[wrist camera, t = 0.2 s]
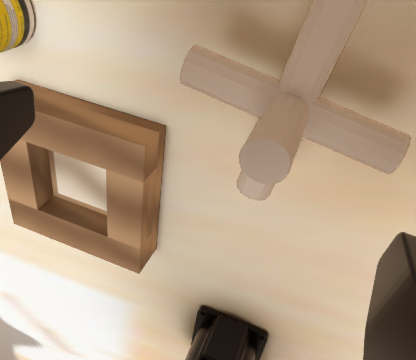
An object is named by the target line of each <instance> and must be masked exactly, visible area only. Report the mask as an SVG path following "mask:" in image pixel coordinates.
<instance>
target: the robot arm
mask: <svg viewBox="0 0 416 360" xmlns="http://www.w3.org/2000/svg"><path fill="white" fill-rule="evenodd" d="M34 121H35V103H34V92H33V90H32V88H31V87H30V86H28V85H25V84H23V83H20V82H18V81H5V82H0V160H1V159H2V158H3V157H4V156H5V155H6V154H7V153H8V152H9V151H10V150H11V148H12V147H13V146H14V145H15V144H16V143H17V142H18V141H19V140H20V139H21V138H22V136H23V135H24V134H25V133H26V132H27V131H28V130H29V129H30V128H31V127H32V125H33V123H34ZM267 339H268V333H267V332H265V331H263V330H261V329H258V328H256V327H253V326H251V325H248V324H246V323H243V322H241V321H239V320H236V319H234V318H231V317H229V316H226V315H224V314H221V313H219V312H216V311H214V310H211V309H209V308H206V307H203V306H201V307H200V308H199V310H198V313H197V318H196V323H195V328H194V333H193V338H192V343H191V348H190V350H189V352H188V354H187V357H186V359H185V360H259V359H260V357H261V354H262V352H263V350H264V347H265V345H266V342H267ZM363 360H416V237H415V236H413V235H410V234H407V233H405V232H401V233H399V234H398V235H397V236H396V237H395V238H394V240H393V241H392V243H391V244H390V245H389V247H388V248H387V249H386V251H385V252H384V254H383V255H382V257H381V258H380V260H379V263H378V266H377V270H376V275H375V280H374V286H373V291H372V296H371V301H370V306H369V311H368V316H367V322H366V328H365V339H364V356H363Z"/></svg>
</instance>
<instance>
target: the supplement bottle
mask: <svg viewBox="0 0 416 360" xmlns="http://www.w3.org/2000/svg"><path fill="white" fill-rule="evenodd" d="M33 30H34V15H33V10H32V7H31V4H30V1H29V0H0V52H3V51H6V50H9V49H12V48H15V47H18V46H20V45H22V44H24V43H26V42H27V41H28V40H29V39H30V37H31V35H32V33H33Z"/></svg>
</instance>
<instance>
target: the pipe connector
mask: <svg viewBox="0 0 416 360" xmlns="http://www.w3.org/2000/svg"><path fill="white" fill-rule="evenodd" d="M367 1H368V0H313V2H312V5H311V7H310V9H309V12H308V14H307V16H306V19H305V21H304V24H303V26H302V28H301V31H300V33H299V35H298V38H297V40H296V43H295V45H294V47H293V50H292V52H291V54H290V57H289V59H288V62H287V64H286V66H285V69H284V71H283V73H282V76H281V78H280V81H279V80H277V79H275V78H272V77H270V76H268V75H265V74H263V73H261V72H258V71H256V70H253V69H251V68H249V67H246V66H244V65H242V64H239V63H237V62H235V61H232V60H230V59H228V58H225V57H223V56H220V55H218V54H216V53H213V52H211V51H209V50H206V49H204V48H202V47H199V46H193V47H192V48H191V50H190V51H189V53H188V55H187V57H186V59H185V61H184V64H183V67H182V70H181V75H180V81H181V83H182V84H184V85H186V86H188V87H191V88H193V89H195V90H198V91H200V92H202V93H204V94H207V95H209V96H211V97H214V98H216V99H218V100H220V101H223V102H225V103H227V104H230V105H232V106H234V107H236V108H239V109H241V110H243V111H245V112H248V113H250V114H252V115H255V116H257V117H259V118H260V119H259V121H258V122H257V124H256V126H255V127H254V129H253V131H252V132H251V134H250V136H249V137H248V139H247V141H246V142H245V144H244V146H243V147H242V149H241V151H240V154H239V163H240V166H241V169H242V171H241V173H240V176H239V178H238V180H237V187H238V189H239V191H240V192H241V193H242V194H243V195H245V196H246V197H248V198H250V199H254V200H265V199H266V198H267V197H268V196H269V195H270V193H271V191H272V189H273V187H274V185H275V183H277V182H280V181H281V180H283V179H284V178H285V177H286V176H287V175H288V173H289V171H290V168H291V165H292V163H293V160H294V157H295V154H296V152H297V149H298V146H299V143H300V141H301V138H302V137H305V138H307V139H309V140H312V141H314V142H316V143H318V144H321V145H323V146H325V147H327V148H330V149H332V150H334V151H337V152H339V153H341V154H343V155H346V156H348V157H350V158H353V159H355V160H357V161H359V162H362V163H364V164H366V165H368V166H371V167H373V168H375V169H378V170H380V171H382V172H384V173H387V174H390V173H392V172H393V171H394V170H395V169H396V168H397V167H398V166H399V164H400V163H401V161H402V160H403V158H404V156H405V154H406V152H407V150H408V147H409V145H410V139H411V138H410V136H409V135H407V134H404V133H402V132H400V131H397V130H395V129H393V128H390V127H388V126H385V125H383V124H381V123H378V122H376V121H374V120H371V119H369V118H367V117H364V116H362V115H360V114H357V113H355V112H352V111H350V110H348V109H345V108H343V107H341V106H338V105H336V104H334V103H331V102H329V101H327V100H324V99H322V98H319V96H320V94H321V92H322V90H323V88H324V86H325V84H326V82H327V80H328V78H329V76H330V74H331V72H332V70H333V68H334V66H335V64H336V62H337V60H338V58H339V56H340V54H341V52H342V50H343V48H344V46H345V44H346V42H347V40H348V38H349V36H350V34H351V32H352V30H353V28H354V26H355V25H356V23H357V21H358V19H359V17H360V15H361V13H362V11H363V9H364V7H365V5H366V3H367Z"/></svg>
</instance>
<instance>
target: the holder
mask: <svg viewBox="0 0 416 360" xmlns="http://www.w3.org/2000/svg"><path fill="white" fill-rule="evenodd" d="M16 81H18V82H20V83H23V84H25V85H28V86H30V87H31V88H32V90H33V92H34V103H35V121H34V123H33V125H32V127H31V128H30V129H29V130H28V131H27V132H26V133H25V134H24V135H23V136H22V138H21V139H20V140H19V141H18V142H17V143H16V144H15V145H14V146H13V147H12V148H11V150H10V151H9V152H8V153H7V154H6V155H5V156H4V157H3V158H2V159H1V160H0V162H1V167H2V172H3V176H4V181H5V185H6V190H7V194H8V199H9V203H10V208H11V212H12V217H13V221H14V224H16V225H19V226H21V227H24V228H26V229H29V230H31V231H34V232H36V233H39V234H41V235H44V236H46V237H49V238H51V239H54V240H56V241H59V242H61V243H64V244H66V245H69V246H71V247H74V248H76V249H79V250H81V251H84V252H86V253H89V254H91V255H94V256H96V257H99V258H101V259H104V260H106V261H109V262H111V263H114V264H116V265H119V266H121V267H124V268H126V269H129V270H131V271H134V272H136V273H140V272H141V270H142V269H143V267H144V266H145V264H146V263H147V261H148V260H149V258H150V257H151V256H152V254H153V253H154V251H155V250H156V244H157V231H158V219H159V206H160V194H161V181H162V169H163V156H164V144H165V131H166V126H164V125H161V124H158V123H155V122H152V121H148V120H145V119H142V118H139V117H136V116H132V115H129V114H126V113H123V112H119V111H116V110H113V109H110V108H107V107H103V106H100V105H97V104H94V103H91V102H87V101H84V100H81V99H78V98H74V97H71V96H68V95H65V94H62V93H58V92H55V91H52V90H49V89H46V88H42V87H39V86H36V85H33V84H30V83H26V82H23V81H20V80H16Z"/></svg>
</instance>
